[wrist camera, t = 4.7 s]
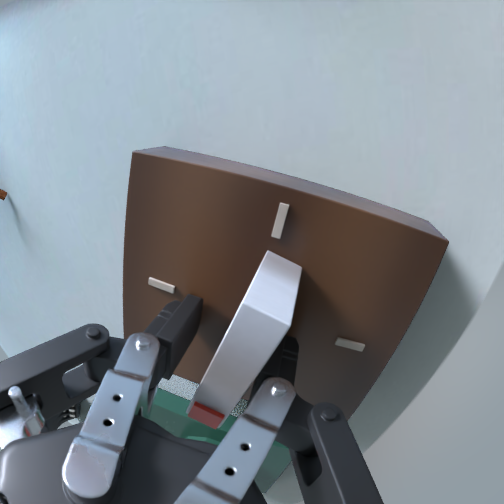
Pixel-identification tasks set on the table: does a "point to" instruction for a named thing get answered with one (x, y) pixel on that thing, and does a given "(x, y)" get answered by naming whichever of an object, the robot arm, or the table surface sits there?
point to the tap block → (285, 245)
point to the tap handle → (248, 340)
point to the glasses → (2, 194)
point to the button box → (213, 434)
